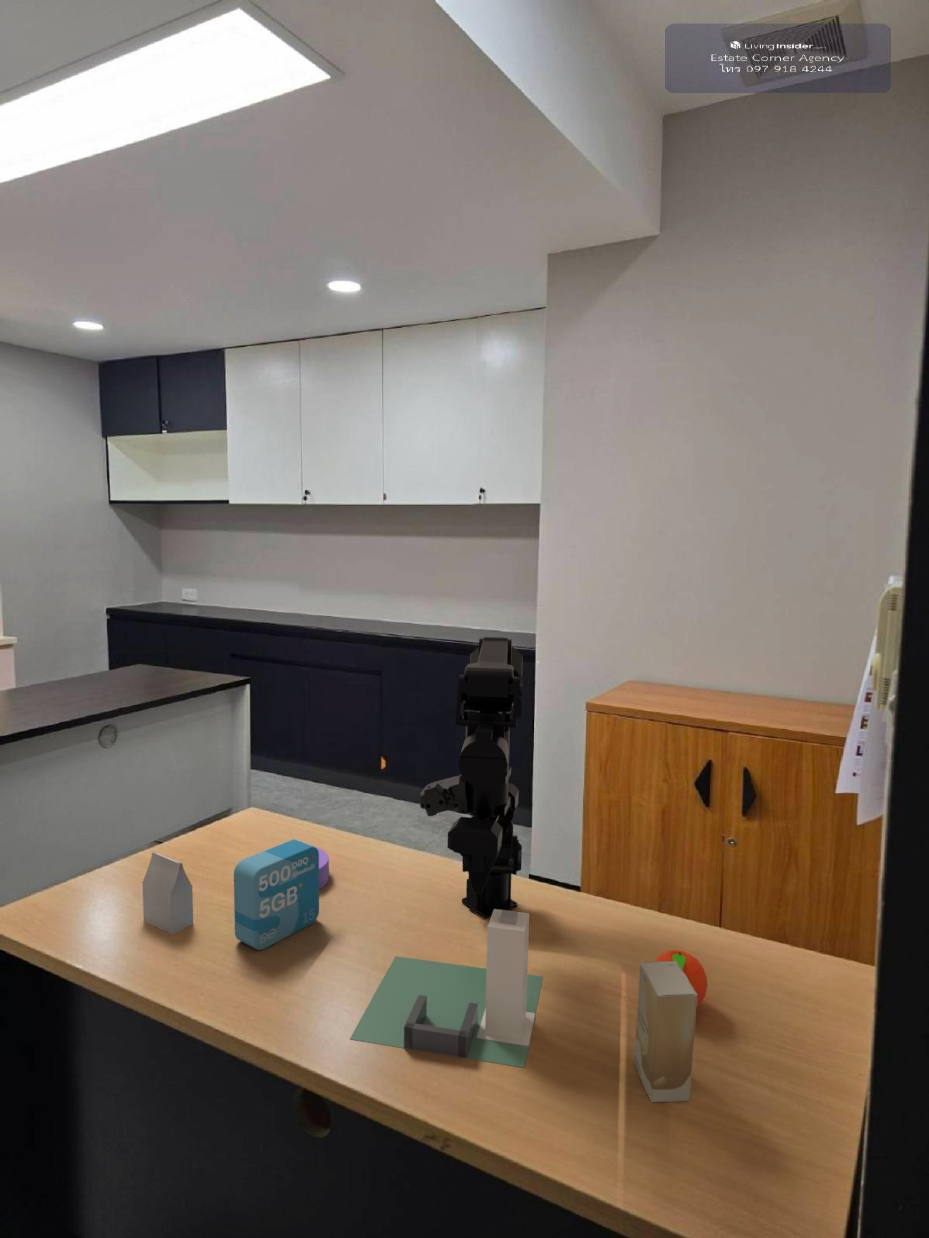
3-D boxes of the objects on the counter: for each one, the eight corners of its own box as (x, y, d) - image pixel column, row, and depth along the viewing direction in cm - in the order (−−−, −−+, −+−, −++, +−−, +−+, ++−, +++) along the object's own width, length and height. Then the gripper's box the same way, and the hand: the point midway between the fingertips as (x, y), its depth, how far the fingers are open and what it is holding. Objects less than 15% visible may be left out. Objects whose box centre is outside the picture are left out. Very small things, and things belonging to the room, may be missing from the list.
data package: (254, 954, 106) (253, 871, 104) (234, 943, 108) (232, 862, 107) (319, 920, 115) (319, 843, 114) (299, 910, 118) (299, 836, 117)
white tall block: (491, 1011, 92) (494, 904, 91) (526, 1016, 92) (529, 908, 90) (485, 1033, 88) (487, 921, 87) (521, 1038, 87) (524, 926, 86)
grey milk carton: (171, 934, 110) (169, 868, 109) (143, 920, 114) (141, 856, 113) (193, 924, 114) (191, 859, 112) (165, 910, 117) (163, 848, 116)
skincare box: (632, 1062, 86) (637, 959, 84) (670, 1060, 86) (676, 958, 84) (651, 1105, 79) (657, 994, 78) (692, 1103, 80) (698, 993, 78)
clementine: (706, 1034, 91) (709, 978, 90) (645, 1022, 93) (648, 967, 92) (705, 995, 98) (708, 943, 97) (650, 985, 100) (652, 934, 99)
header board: (395, 962, 104) (395, 938, 104) (542, 983, 100) (543, 958, 100) (349, 1046, 87) (349, 1018, 87) (524, 1076, 83) (525, 1045, 83)
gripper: (443, 738, 111) (442, 842, 112) (407, 779, 92) (405, 902, 94) (520, 744, 108) (517, 850, 110) (498, 787, 90) (495, 913, 92)
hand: (484, 876), depth 102 cm, fingers open, 9 cm apart
